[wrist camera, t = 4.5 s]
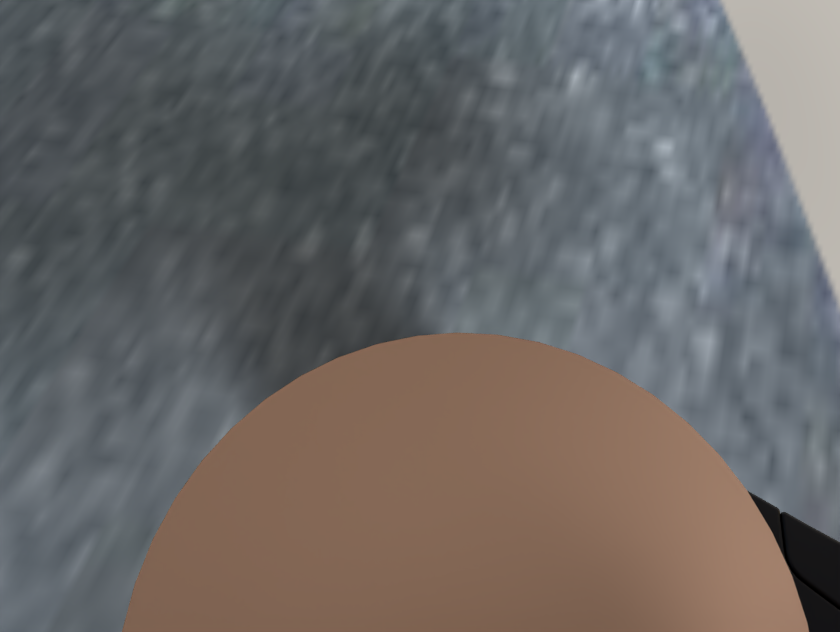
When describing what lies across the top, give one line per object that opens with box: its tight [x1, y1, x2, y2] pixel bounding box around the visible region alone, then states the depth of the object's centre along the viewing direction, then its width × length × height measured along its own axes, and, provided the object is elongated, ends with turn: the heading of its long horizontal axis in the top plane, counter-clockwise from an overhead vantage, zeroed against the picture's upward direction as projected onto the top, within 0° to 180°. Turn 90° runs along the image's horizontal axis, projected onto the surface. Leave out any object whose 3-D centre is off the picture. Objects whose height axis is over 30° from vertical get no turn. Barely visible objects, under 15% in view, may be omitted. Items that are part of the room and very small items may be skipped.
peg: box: [122, 333, 809, 632], centre depth 10 cm, size 5×5×12 cm
